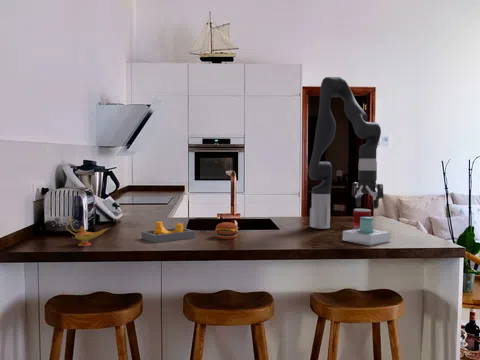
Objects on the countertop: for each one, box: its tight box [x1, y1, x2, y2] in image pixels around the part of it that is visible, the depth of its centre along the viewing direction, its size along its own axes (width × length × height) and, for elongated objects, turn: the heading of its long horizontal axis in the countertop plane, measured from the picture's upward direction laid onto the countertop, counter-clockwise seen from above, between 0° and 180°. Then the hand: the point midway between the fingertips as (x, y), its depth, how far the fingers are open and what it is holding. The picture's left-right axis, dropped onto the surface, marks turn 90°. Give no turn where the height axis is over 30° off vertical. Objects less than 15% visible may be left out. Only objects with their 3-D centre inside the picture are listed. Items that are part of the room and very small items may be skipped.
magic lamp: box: [65, 216, 111, 247], centre depth 180 cm, size 7×18×11 cm, turn 88°
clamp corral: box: [141, 227, 196, 244], centre depth 196 cm, size 12×19×3 cm, turn 129°
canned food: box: [352, 208, 372, 230], centre depth 213 cm, size 8×8×11 cm
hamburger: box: [214, 221, 239, 240], centre depth 199 cm, size 9×10×7 cm
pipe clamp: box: [153, 221, 184, 235], centre depth 195 cm, size 12×4×6 cm, turn 71°
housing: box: [342, 228, 391, 246], centre depth 192 cm, size 14×14×4 cm
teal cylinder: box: [360, 216, 374, 233], centre depth 192 cm, size 5×5×10 cm
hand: (366, 207), depth 191 cm, fingers open, 8 cm apart
